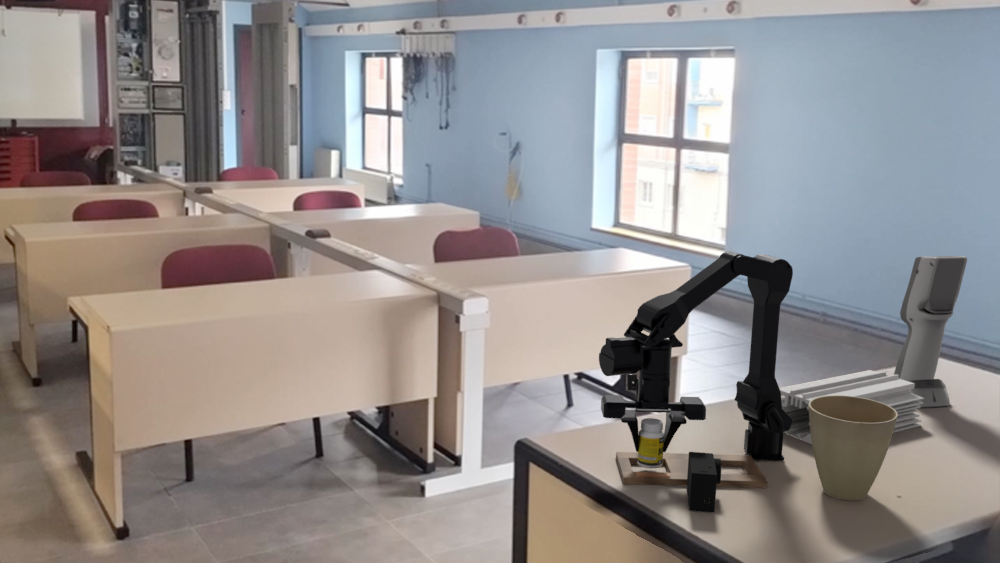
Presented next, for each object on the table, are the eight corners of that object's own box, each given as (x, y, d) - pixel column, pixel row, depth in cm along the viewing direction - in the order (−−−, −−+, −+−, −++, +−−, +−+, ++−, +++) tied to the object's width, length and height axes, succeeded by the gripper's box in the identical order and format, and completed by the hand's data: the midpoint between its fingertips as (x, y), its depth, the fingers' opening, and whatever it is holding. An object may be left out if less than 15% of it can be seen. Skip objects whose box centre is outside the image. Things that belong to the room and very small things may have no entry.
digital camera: (721, 514, 170) (724, 475, 169) (689, 511, 171) (691, 472, 170) (717, 490, 181) (719, 453, 179) (686, 487, 181) (689, 451, 180)
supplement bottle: (661, 470, 185) (664, 426, 184) (636, 467, 186) (638, 424, 185) (663, 460, 190) (665, 418, 188) (638, 458, 191) (640, 416, 189)
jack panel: (750, 461, 195) (750, 454, 194) (767, 487, 182) (767, 480, 182) (615, 457, 195) (616, 450, 194) (623, 484, 182) (623, 476, 182)
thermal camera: (912, 409, 229) (929, 257, 222) (879, 392, 241) (894, 248, 235) (957, 406, 232) (974, 257, 225) (922, 390, 244) (938, 247, 237)
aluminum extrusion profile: (920, 427, 218) (925, 382, 216) (825, 451, 202) (829, 403, 200) (865, 408, 230) (869, 366, 228) (771, 429, 214) (775, 384, 212)
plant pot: (784, 482, 185) (791, 399, 181) (849, 473, 190) (857, 392, 187) (838, 515, 171) (846, 425, 168) (907, 504, 176) (916, 417, 173)
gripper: (697, 359, 192) (692, 437, 195) (600, 357, 193) (596, 435, 196) (708, 376, 181) (703, 458, 185) (605, 374, 182) (602, 456, 185)
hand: (650, 451), depth 188 cm, fingers closed on supplement bottle, 5 cm apart
